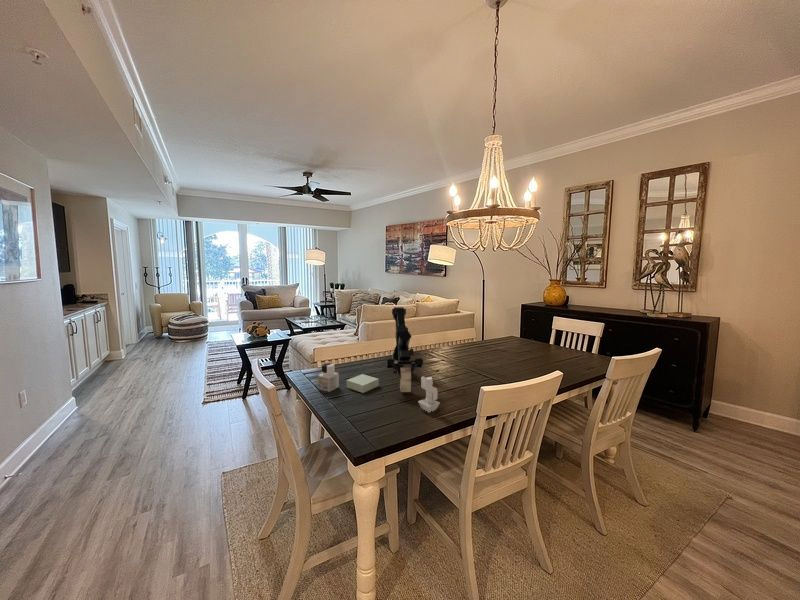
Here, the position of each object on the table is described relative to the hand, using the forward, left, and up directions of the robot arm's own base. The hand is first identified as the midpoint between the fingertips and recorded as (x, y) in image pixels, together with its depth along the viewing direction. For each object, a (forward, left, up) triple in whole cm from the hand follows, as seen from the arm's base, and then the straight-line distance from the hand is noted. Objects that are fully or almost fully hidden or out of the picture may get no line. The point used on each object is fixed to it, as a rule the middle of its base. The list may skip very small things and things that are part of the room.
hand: (405, 378), depth 167 cm
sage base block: (-1, -25, -8) cm, 26 cm away
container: (+7, -41, -8) cm, 42 cm away
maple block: (-1, -1, -7) cm, 7 cm away
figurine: (+13, +15, -8) cm, 22 cm away
